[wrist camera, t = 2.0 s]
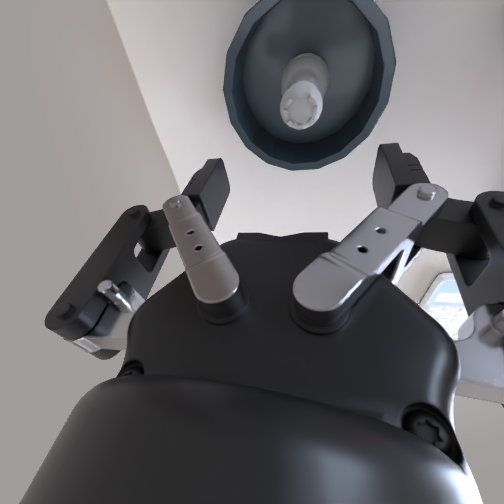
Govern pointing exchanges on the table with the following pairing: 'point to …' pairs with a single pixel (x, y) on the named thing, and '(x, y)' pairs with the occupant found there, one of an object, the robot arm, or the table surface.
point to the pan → (339, 87)
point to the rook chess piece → (303, 90)
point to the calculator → (445, 303)
